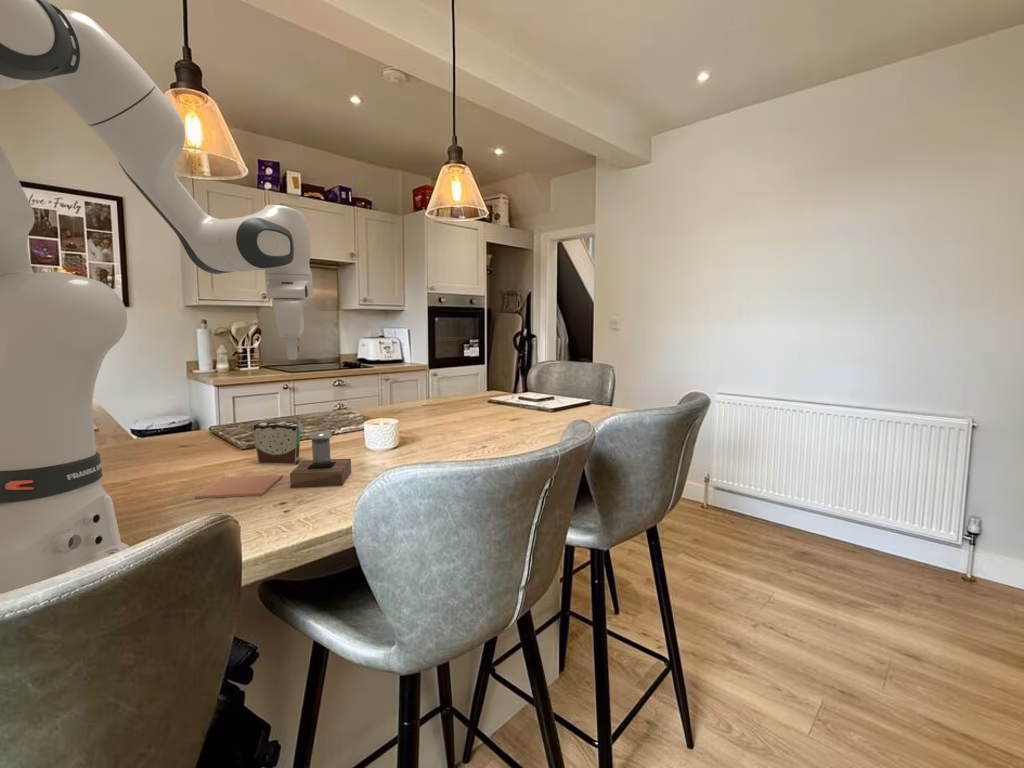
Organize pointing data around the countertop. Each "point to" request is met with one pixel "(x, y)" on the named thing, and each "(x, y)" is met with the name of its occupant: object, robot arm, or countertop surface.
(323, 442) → the metal peg
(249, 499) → the countertop surface
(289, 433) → the food container
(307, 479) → the brown square peg hole
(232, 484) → the rubber mat
